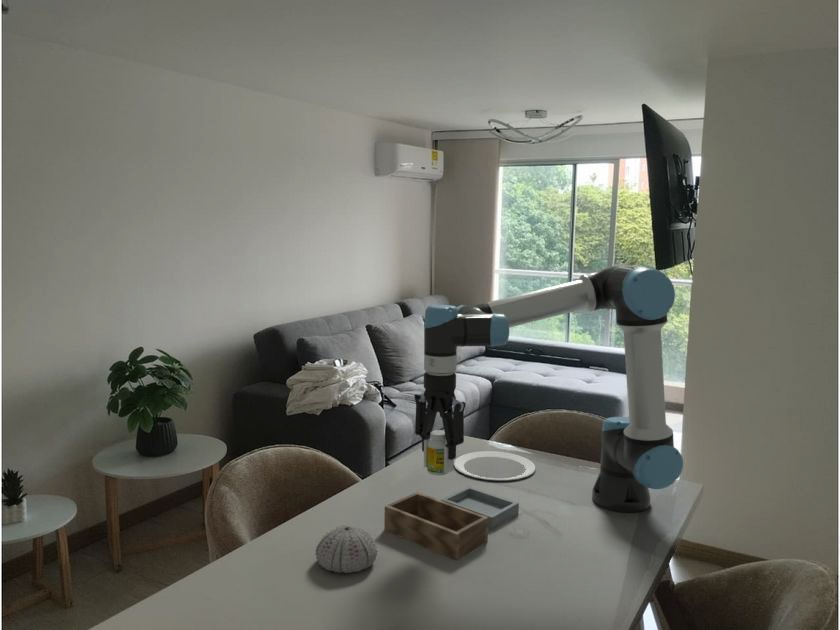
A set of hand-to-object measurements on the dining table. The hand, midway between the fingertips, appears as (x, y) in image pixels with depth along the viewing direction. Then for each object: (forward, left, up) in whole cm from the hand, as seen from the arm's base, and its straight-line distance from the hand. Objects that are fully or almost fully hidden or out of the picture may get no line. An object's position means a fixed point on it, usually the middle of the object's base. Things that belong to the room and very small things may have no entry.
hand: (438, 468), depth 159 cm
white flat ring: (+16, -47, -17) cm, 53 cm away
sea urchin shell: (+6, +24, -17) cm, 30 cm away
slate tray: (0, -17, -17) cm, 24 cm away
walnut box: (0, +1, -17) cm, 17 cm away
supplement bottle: (0, 0, -1) cm, 1 cm away
